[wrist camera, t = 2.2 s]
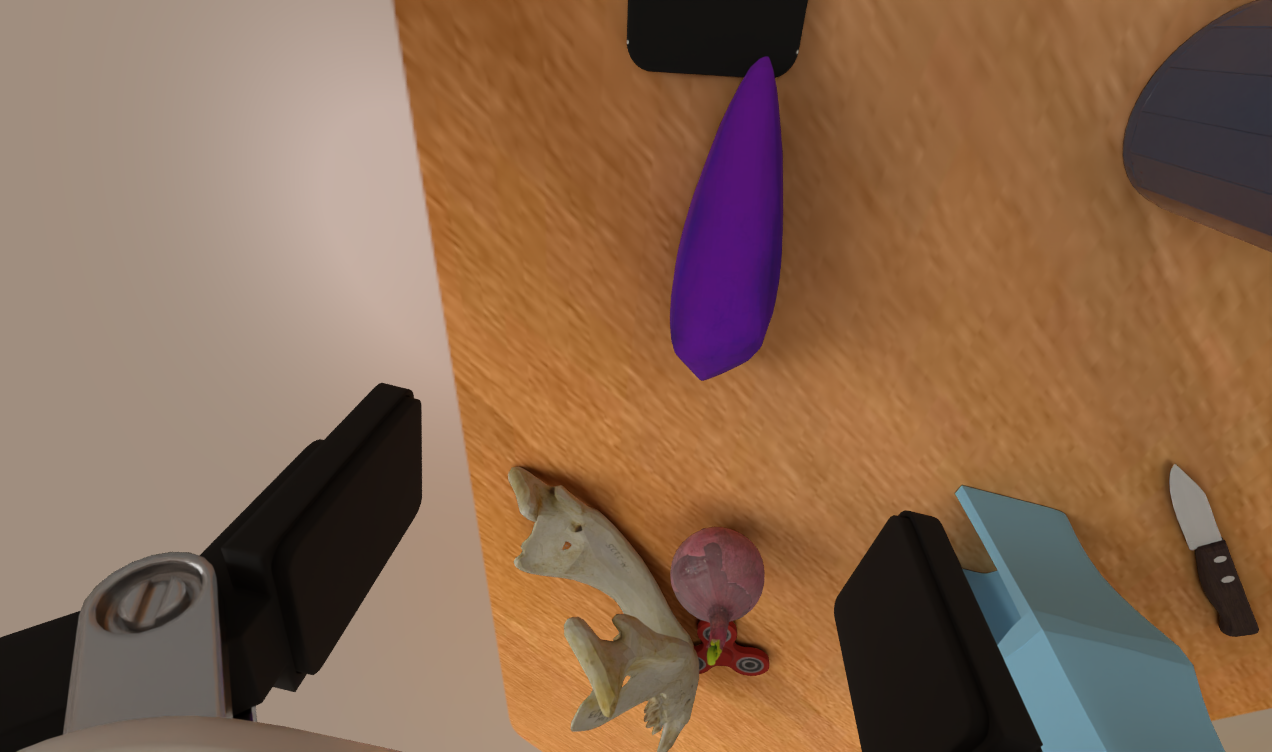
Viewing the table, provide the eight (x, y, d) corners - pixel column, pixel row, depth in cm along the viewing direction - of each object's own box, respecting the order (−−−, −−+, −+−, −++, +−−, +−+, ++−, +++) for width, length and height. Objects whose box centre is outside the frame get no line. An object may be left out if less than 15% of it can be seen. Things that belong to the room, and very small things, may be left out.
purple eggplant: (836, 60, 20) (754, 410, 27) (811, 64, 24) (746, 365, 31) (704, 46, 20) (657, 397, 27) (703, 52, 24) (663, 355, 32)
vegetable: (726, 484, 37) (732, 620, 28) (778, 537, 39) (797, 678, 31) (656, 520, 39) (642, 655, 31) (708, 568, 41) (708, 706, 33)
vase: (1005, 588, 40) (1227, 1004, 23) (900, 562, 39) (1047, 965, 22) (1078, 514, 35) (1418, 960, 18) (961, 485, 35) (1198, 909, 18)
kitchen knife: (1216, 628, 39) (1251, 620, 39) (1227, 641, 39) (1263, 633, 38) (1150, 464, 33) (1190, 451, 32) (1161, 476, 32) (1203, 462, 31)
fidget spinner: (667, 670, 47) (668, 656, 49) (745, 696, 48) (744, 681, 49) (707, 622, 43) (707, 607, 44) (791, 651, 44) (789, 636, 45)
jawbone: (773, 807, 40) (652, 894, 37) (658, 612, 54) (564, 665, 51) (755, 613, 26) (559, 731, 23) (606, 418, 40) (473, 477, 37)
